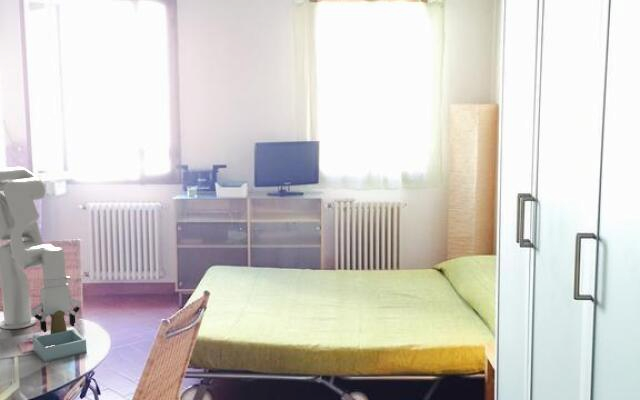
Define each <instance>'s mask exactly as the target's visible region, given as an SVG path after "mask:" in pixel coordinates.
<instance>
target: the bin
mask: <svg viewBox="0 0 640 400" xmlns="http://www.w3.org/2000/svg"><path fill="white" fill-rule="evenodd" d="M32 345H33V347H32V349H33V351H34V350H35V352H36V353H37V354H38V355H37V354H36V353H35V352H34V353H35V354H36V355H37V356H38V357H39V358H40V359H41V360H42V361H43V363H48V362H53V361H56V360H61V359H65V358H69V357H73V356H77V355H82V354H87V339H85V338H84V337H83V336H82V335H81V334H80V333H78V332H77V331H76V330H74V329H68V330H67V331H63V332H59V333H54V334H50V333H49V334H45V335H41V336H35V337H32ZM51 345H55V346H52V347H48V348H45V347H46V346H51Z"/></svg>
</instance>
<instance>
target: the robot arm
mask: <svg viewBox="0 0 640 400" xmlns="http://www.w3.org/2000/svg"><path fill="white" fill-rule="evenodd" d="M1 192H3V193H1ZM45 194H46V188H45V185H44V183H43V181H42V180H41V178H39V177H38V176H37V175H35V174H34V173H32V172H31V171H30V170H28V169H26V168H25V167H23V166H13V167H11V166H10V167H2V168H1V167H0V242H5V241H9V243H5V244H2V245H0V287H1V288H0V290H1V298H2V300H1V301H2V308H3V309H2V310H3V321H1V322H0V328H1V329H4V330H19V329H24V328H28V327H31V326H34V325H35V324H36V323H37V320H38V321H39V324H40V330H41V331H42V332H44V333H47V332H48V329H47V321H46V319H47V318H48V316H50V315H53V314H54V313H55V312H56V311H59V310H61V311H63V312H65V313H67V312H69V315H68V319H69V326H70V327H75V324H76V315H77V313H78V311H79V310H80V308H81V305H82V302H83V301H81V300H78V299H75V298H72V295H71V289H70V286H69V283H68V281H71V277H70V276H67V275H66V262H65V261H66V260H65V259H66V258H65V251H64V249H63V248H62V247H60V246H59V247H58V246H54V245H53V244H51V243H44V242H43V238H42V236H41V232H40V228H39V225H38V222H37V221H38V220H39V218H40V214H39V212H38V209H37V206H36V204H35V202H34V201H37V200H41V199H43V198H44V197H45ZM38 267H41V268H42V277H43V279H42V280H43V286H41V289H40V298H39V299H40V304H38V305H36V306H35V307H33V308H31V307H32V306H31V295H30V283H29V282H30V281H29V277H28V274H27V273H26V272H25V270H29V269H30V270H31V269H34V268H38ZM73 304H75V307H74V308H73ZM39 311H40V312H41V314H38V312H39ZM32 315H33V316H32Z"/></svg>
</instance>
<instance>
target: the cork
mask: <svg viewBox="0 0 640 400" xmlns="http://www.w3.org/2000/svg"><path fill="white" fill-rule="evenodd" d="M65 315H66V312H63V311H61V310H59V311H56V312H55V313H54V314H53V315H49V317H50V319H51V320H50V321H51V322H50V323H51V324H50V332H49V334H54V333H59V332H63V331H68V330H67V329H68V328H67V325H66V320H65V317H64V316H65Z"/></svg>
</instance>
